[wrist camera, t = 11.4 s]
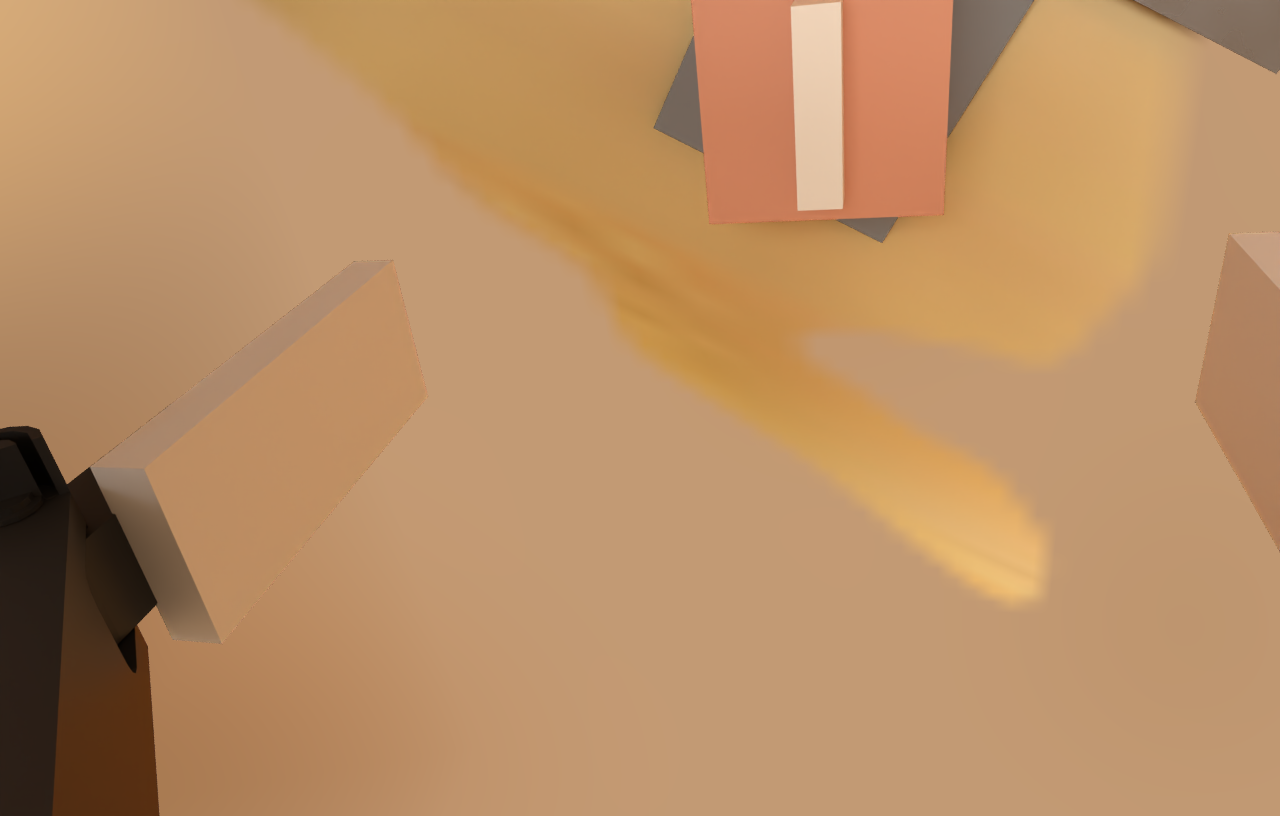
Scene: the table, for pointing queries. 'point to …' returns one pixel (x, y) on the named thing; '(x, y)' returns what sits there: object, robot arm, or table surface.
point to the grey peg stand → (1231, 25)
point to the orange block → (823, 107)
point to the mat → (979, 34)
